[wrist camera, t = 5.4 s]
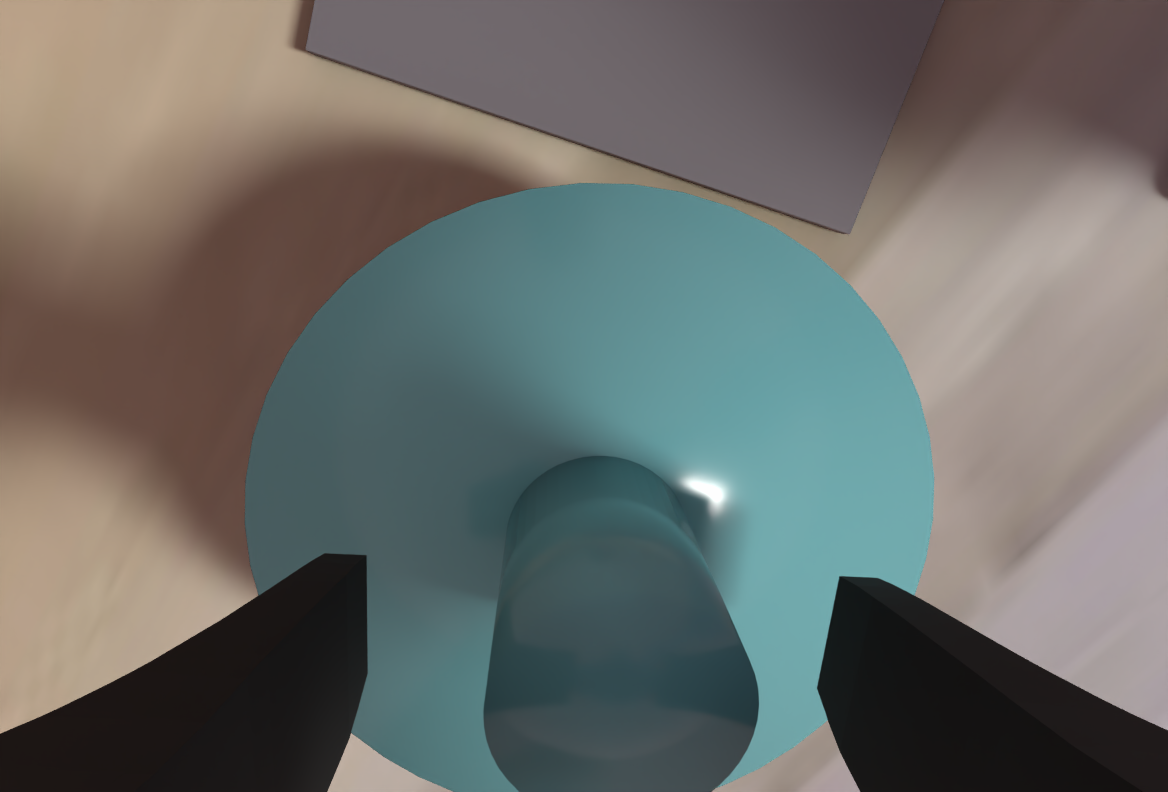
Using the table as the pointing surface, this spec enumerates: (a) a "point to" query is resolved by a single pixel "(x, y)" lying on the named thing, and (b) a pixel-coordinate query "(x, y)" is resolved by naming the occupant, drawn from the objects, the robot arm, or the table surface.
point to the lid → (593, 486)
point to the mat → (667, 81)
